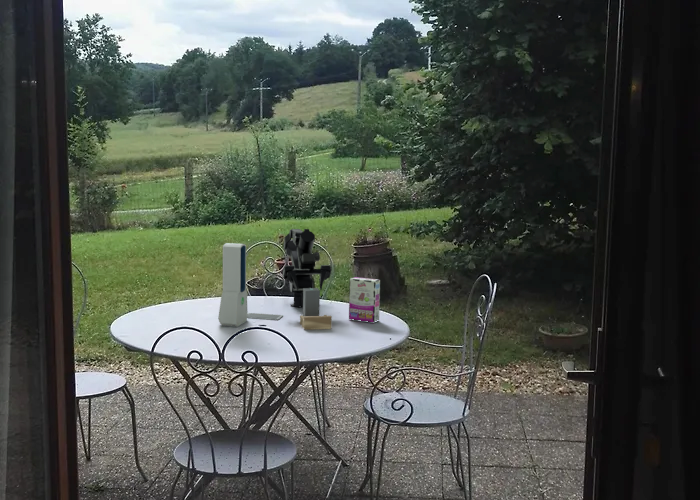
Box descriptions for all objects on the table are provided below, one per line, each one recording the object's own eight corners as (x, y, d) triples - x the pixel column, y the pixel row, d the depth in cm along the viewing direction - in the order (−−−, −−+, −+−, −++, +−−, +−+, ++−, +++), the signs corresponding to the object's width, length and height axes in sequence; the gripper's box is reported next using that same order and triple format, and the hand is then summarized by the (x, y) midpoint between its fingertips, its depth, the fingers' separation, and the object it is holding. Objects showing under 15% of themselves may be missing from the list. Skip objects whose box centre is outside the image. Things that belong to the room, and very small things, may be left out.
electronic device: (236, 327, 273) (237, 246, 269) (217, 326, 274) (217, 245, 270) (248, 320, 285) (248, 242, 281) (229, 318, 287) (229, 241, 282)
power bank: (302, 318, 289) (303, 287, 288) (316, 318, 291) (317, 287, 289) (305, 321, 285) (305, 290, 283) (319, 321, 286) (319, 290, 284)
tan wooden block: (300, 323, 282) (300, 311, 282) (326, 322, 284) (326, 310, 284) (304, 329, 273) (304, 317, 272) (331, 328, 275) (331, 316, 274)
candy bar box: (379, 321, 289) (381, 279, 286) (374, 323, 284) (375, 281, 282) (354, 317, 294) (355, 276, 292) (348, 320, 289) (349, 278, 287)
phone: (248, 315, 296) (248, 312, 295) (282, 317, 293) (283, 314, 293) (242, 319, 289) (242, 316, 289) (277, 321, 286) (277, 318, 286)
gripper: (284, 245, 292) (287, 278, 282) (331, 245, 296) (336, 277, 287) (281, 262, 300) (284, 294, 291) (326, 261, 304) (331, 293, 295)
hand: (309, 289), depth 291 cm, fingers open, 9 cm apart
